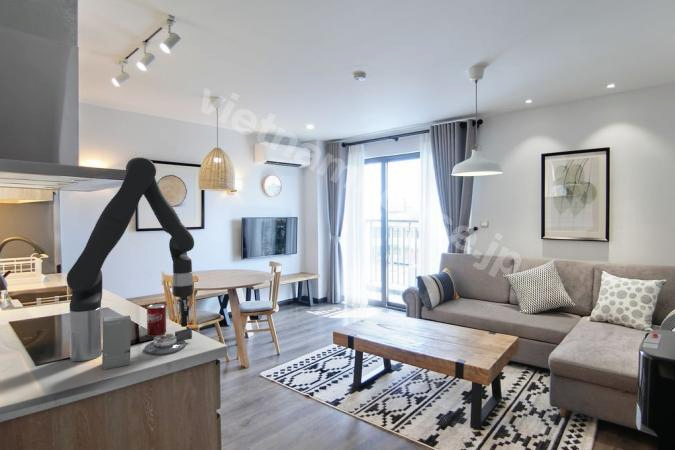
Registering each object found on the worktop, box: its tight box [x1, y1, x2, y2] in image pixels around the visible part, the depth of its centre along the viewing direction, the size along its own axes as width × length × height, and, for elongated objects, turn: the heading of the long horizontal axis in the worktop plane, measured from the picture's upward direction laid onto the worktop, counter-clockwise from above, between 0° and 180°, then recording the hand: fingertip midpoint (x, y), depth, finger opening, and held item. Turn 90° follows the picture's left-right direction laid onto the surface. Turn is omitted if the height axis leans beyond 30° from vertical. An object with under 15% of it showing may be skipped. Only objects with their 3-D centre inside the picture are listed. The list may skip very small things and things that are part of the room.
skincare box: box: [101, 315, 132, 370], centre depth 128 cm, size 8×7×16 cm
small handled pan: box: [153, 326, 193, 349], centre depth 145 cm, size 14×8×5 cm, turn 131°
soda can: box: [146, 303, 167, 338], centre depth 158 cm, size 7×7×12 cm
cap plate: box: [144, 340, 186, 356], centre depth 143 cm, size 14×14×1 cm
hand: (184, 326), depth 152 cm, fingers closed
